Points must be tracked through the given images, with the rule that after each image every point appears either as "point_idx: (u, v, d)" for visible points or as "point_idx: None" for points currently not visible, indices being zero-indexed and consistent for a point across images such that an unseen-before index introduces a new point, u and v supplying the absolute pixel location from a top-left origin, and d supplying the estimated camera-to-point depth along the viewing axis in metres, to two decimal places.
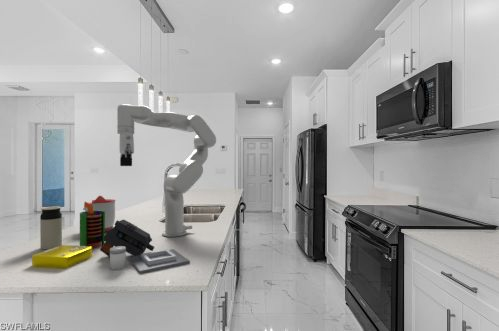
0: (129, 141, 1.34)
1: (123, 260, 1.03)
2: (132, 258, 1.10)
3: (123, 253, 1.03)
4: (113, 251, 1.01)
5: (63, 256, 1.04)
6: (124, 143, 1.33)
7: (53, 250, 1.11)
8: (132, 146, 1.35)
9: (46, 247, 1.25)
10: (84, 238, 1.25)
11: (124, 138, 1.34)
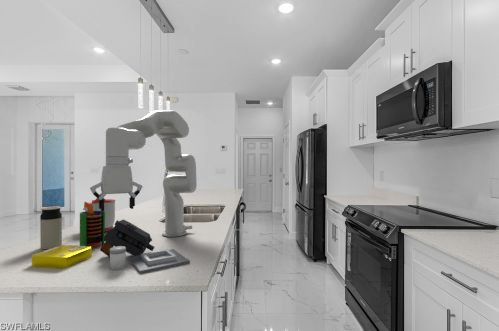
0: None
1: (123, 260, 1.03)
2: (132, 258, 1.10)
3: (123, 253, 1.03)
4: (113, 251, 1.01)
5: (62, 256, 1.04)
6: None
7: (53, 250, 1.11)
8: None
9: (46, 247, 1.25)
10: (84, 238, 1.25)
11: (131, 173, 1.05)
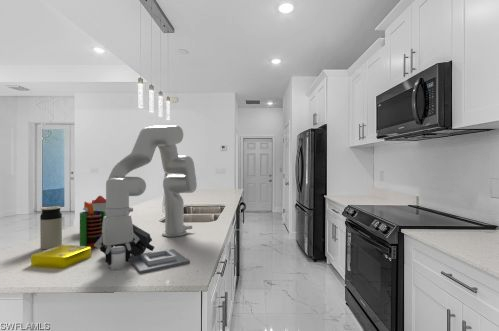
0: None
1: (123, 260, 1.03)
2: (132, 258, 1.10)
3: (123, 253, 1.03)
4: (113, 251, 1.01)
5: (61, 256, 1.04)
6: (132, 229, 1.05)
7: (52, 250, 1.11)
8: None
9: (46, 247, 1.25)
10: (84, 238, 1.25)
11: None
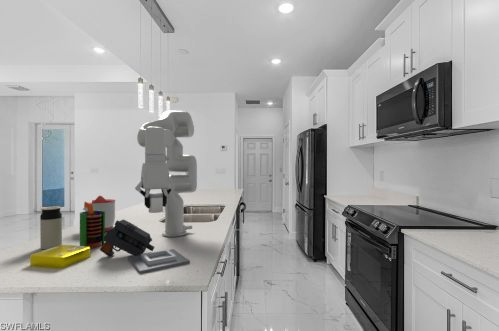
0: None
1: (161, 205, 1.08)
2: (132, 258, 1.10)
3: (161, 198, 1.08)
4: (152, 195, 1.07)
5: (60, 256, 1.04)
6: (169, 175, 1.10)
7: (52, 250, 1.12)
8: None
9: (46, 247, 1.25)
10: (84, 238, 1.25)
11: (168, 170, 1.10)
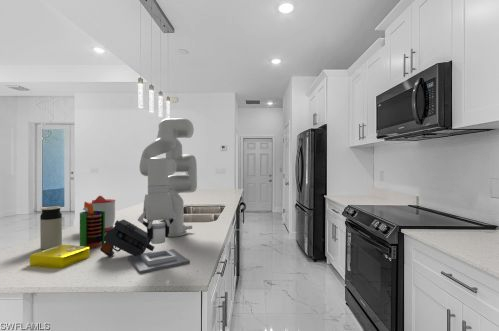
0: None
1: (164, 235, 1.09)
2: (132, 258, 1.10)
3: (163, 228, 1.09)
4: (155, 226, 1.07)
5: (59, 256, 1.04)
6: (171, 206, 1.11)
7: (51, 250, 1.12)
8: None
9: (46, 247, 1.25)
10: (84, 238, 1.25)
11: (171, 200, 1.11)
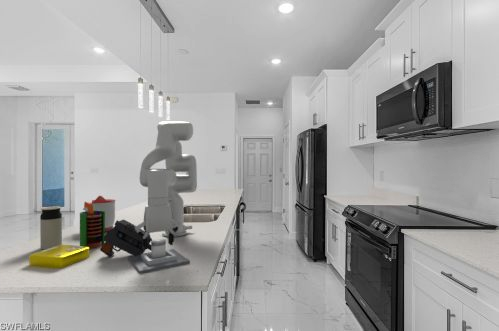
0: None
1: (164, 252, 1.09)
2: (132, 258, 1.10)
3: (164, 245, 1.09)
4: (155, 243, 1.07)
5: (58, 256, 1.04)
6: (172, 217, 1.11)
7: (51, 250, 1.12)
8: None
9: (46, 247, 1.25)
10: (84, 238, 1.25)
11: (171, 212, 1.11)
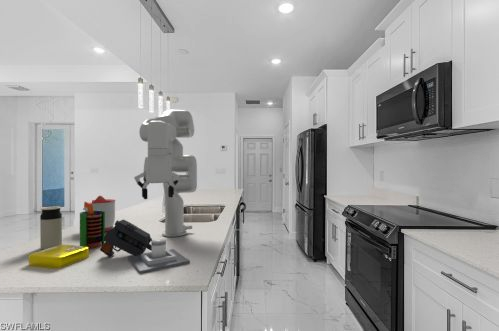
0: None
1: (164, 252, 1.09)
2: (132, 258, 1.10)
3: (164, 245, 1.09)
4: (155, 243, 1.07)
5: (57, 256, 1.04)
6: (171, 170, 1.11)
7: (50, 249, 1.12)
8: None
9: (46, 247, 1.25)
10: (84, 238, 1.25)
11: (171, 164, 1.11)
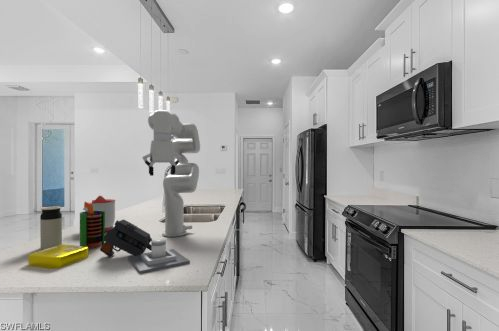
0: None
1: (164, 252, 1.09)
2: (132, 258, 1.10)
3: (164, 245, 1.09)
4: (155, 243, 1.07)
5: (56, 256, 1.04)
6: (173, 151, 1.32)
7: (50, 249, 1.12)
8: None
9: (46, 247, 1.25)
10: (84, 238, 1.25)
11: (173, 147, 1.32)
